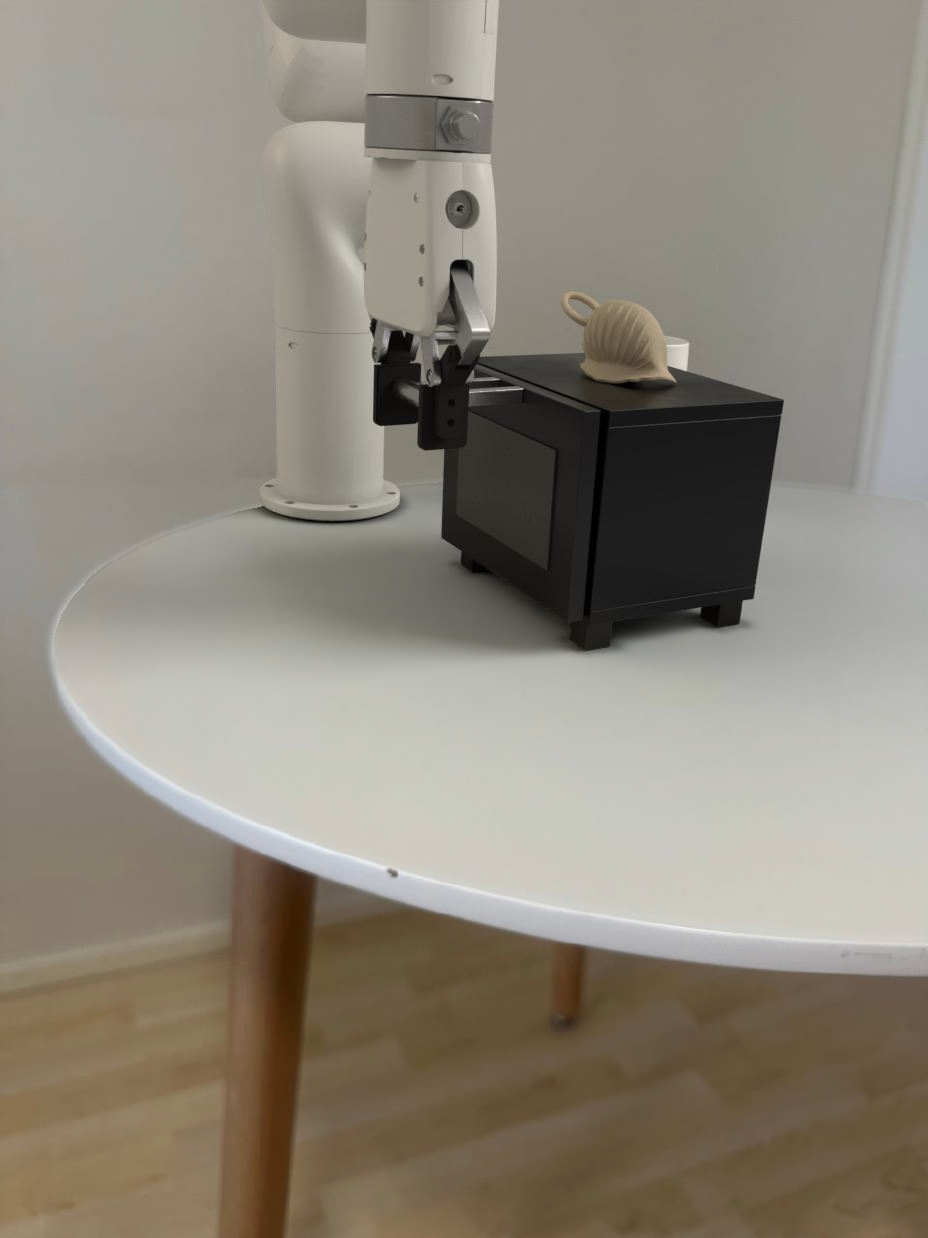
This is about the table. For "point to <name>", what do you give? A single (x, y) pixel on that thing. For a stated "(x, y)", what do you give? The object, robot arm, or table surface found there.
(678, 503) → the oven
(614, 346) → the decorative ornament
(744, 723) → the table surface
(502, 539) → the oven door
